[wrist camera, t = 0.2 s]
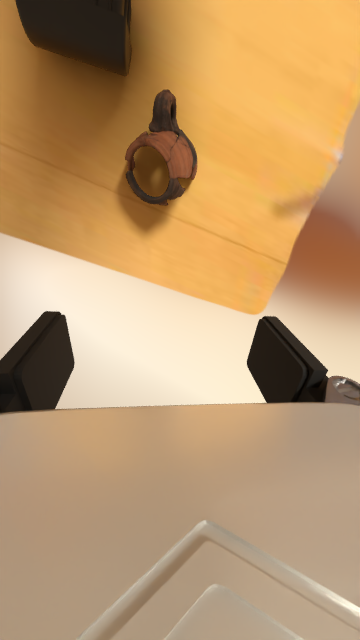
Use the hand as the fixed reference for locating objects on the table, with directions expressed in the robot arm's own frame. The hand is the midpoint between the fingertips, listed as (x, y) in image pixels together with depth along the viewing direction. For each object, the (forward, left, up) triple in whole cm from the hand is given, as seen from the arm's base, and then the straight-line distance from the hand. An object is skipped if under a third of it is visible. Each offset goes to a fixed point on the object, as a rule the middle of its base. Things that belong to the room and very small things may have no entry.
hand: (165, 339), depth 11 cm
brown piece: (-11, +1, -31) cm, 33 cm away
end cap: (-22, -9, -31) cm, 39 cm away
